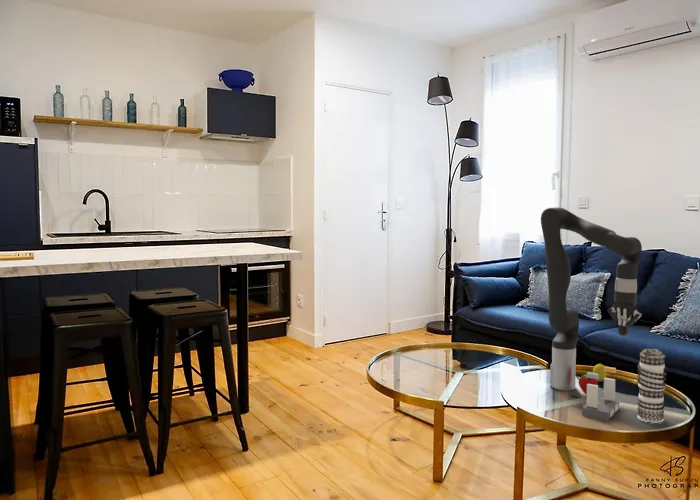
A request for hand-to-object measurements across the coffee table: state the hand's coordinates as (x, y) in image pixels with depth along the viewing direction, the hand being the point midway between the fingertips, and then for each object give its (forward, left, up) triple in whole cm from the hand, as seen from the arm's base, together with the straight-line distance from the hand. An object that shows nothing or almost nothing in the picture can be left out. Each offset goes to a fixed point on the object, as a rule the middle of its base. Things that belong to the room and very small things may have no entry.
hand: (623, 335), depth 215 cm
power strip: (-4, -11, -27) cm, 29 cm away
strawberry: (-13, +2, -27) cm, 30 cm away
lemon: (-14, +22, -27) cm, 37 cm away
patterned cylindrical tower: (+12, -10, -27) cm, 31 cm away
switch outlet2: (-2, -8, -24) cm, 25 cm away
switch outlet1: (-5, -19, -24) cm, 31 cm away
